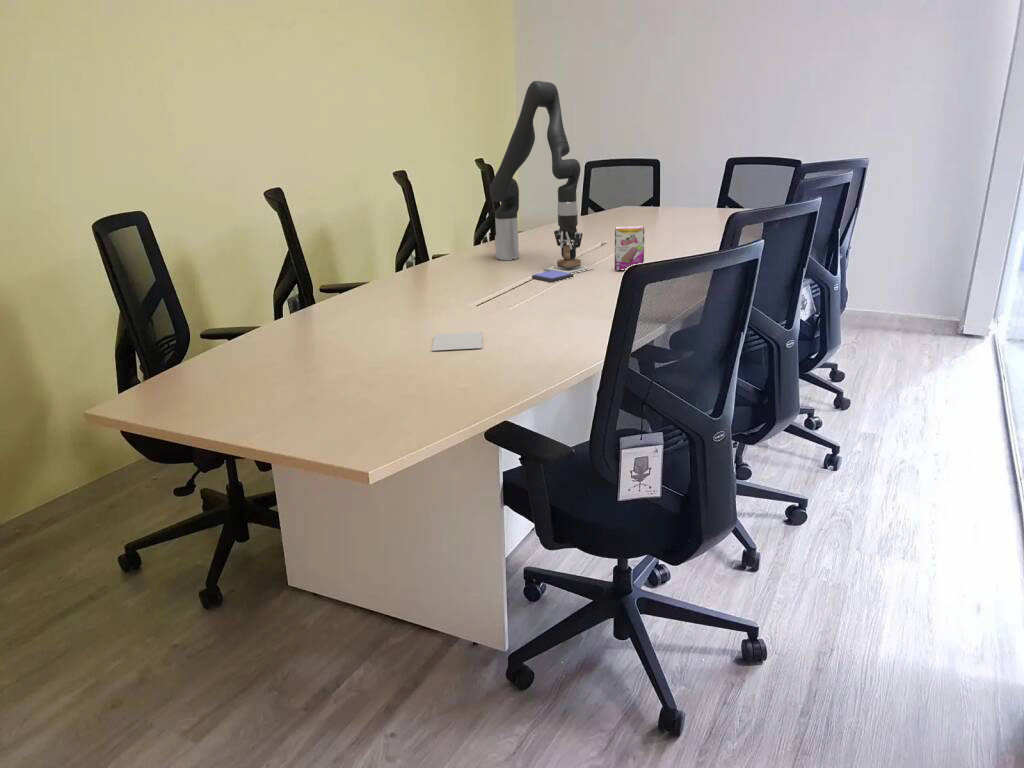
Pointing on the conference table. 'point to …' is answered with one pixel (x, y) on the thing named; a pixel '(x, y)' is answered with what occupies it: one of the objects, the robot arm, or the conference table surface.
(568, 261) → the stamp
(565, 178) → the robot arm
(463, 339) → the paper stack
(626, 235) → the candy bar box
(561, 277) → the ink pad
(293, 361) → the conference table surface
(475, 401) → the conference table surface
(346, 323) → the conference table surface
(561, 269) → the frame board
